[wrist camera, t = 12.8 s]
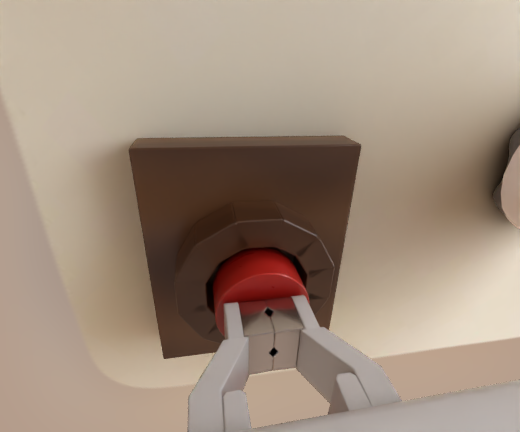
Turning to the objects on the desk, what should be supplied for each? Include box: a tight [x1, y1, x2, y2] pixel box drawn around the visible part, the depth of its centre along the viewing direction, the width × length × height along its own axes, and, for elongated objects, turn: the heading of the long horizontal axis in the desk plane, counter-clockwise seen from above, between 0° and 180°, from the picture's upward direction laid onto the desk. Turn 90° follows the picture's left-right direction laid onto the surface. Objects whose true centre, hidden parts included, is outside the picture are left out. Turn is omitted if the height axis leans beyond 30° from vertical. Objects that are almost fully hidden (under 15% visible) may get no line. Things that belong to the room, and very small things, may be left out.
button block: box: [129, 136, 361, 359], centre depth 14 cm, size 11×9×4 cm
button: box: [213, 248, 309, 337], centre depth 12 cm, size 4×4×2 cm
